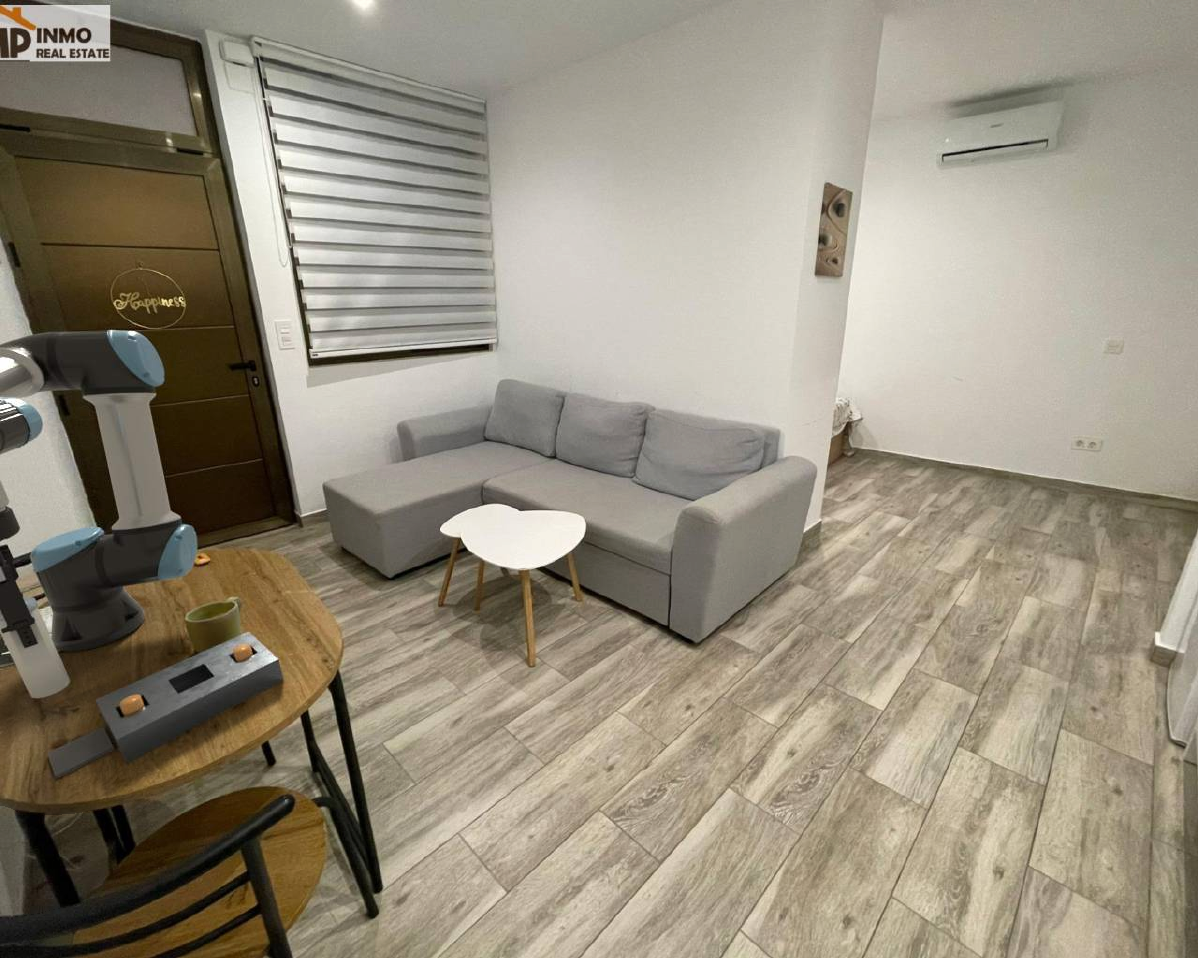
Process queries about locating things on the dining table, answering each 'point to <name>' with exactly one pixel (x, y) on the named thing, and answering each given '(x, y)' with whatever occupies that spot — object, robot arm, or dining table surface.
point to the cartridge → (44, 674)
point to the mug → (214, 623)
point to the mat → (80, 752)
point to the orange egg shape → (242, 652)
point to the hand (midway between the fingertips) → (35, 654)
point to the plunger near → (131, 704)
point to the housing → (188, 695)
